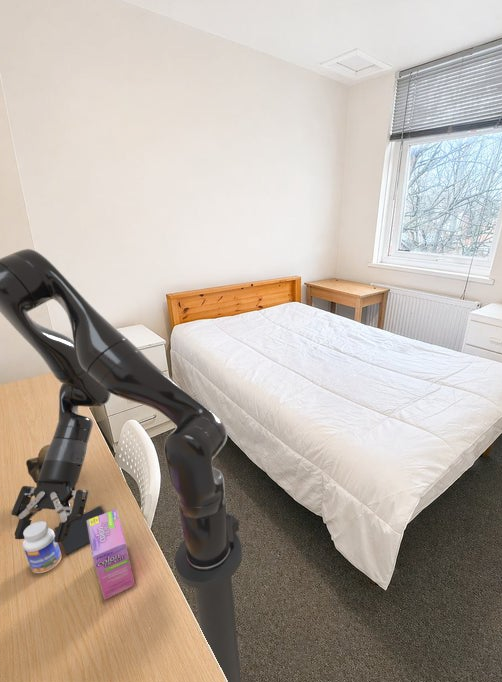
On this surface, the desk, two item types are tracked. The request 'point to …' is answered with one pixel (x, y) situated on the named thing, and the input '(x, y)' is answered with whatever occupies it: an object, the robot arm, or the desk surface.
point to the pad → (79, 532)
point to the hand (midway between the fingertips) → (39, 540)
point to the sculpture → (36, 464)
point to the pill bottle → (41, 547)
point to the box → (110, 553)
